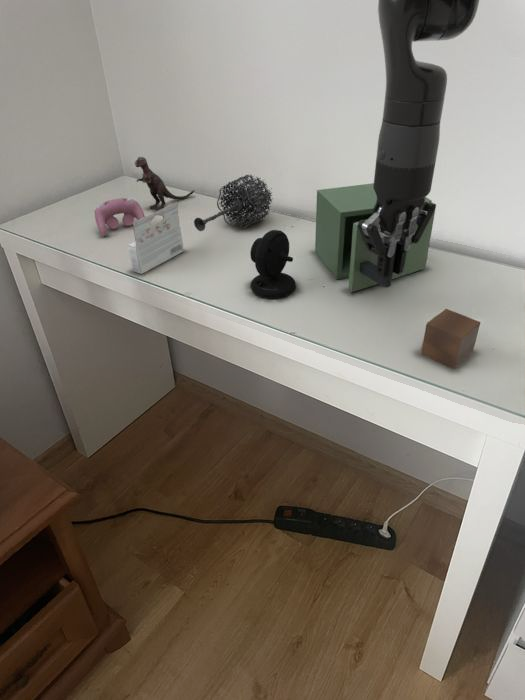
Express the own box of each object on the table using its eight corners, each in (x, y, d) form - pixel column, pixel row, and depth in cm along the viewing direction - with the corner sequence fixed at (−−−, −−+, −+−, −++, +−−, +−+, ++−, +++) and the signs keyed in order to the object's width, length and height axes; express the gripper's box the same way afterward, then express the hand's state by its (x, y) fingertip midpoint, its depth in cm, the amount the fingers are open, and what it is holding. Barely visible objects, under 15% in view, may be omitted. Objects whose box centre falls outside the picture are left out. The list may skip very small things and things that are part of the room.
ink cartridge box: (132, 271, 94) (122, 219, 88) (175, 249, 101) (168, 199, 95) (142, 275, 93) (132, 222, 87) (184, 252, 100) (178, 201, 94)
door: (452, 283, 87) (466, 216, 80) (376, 310, 81) (384, 240, 74) (421, 266, 92) (432, 202, 85) (348, 290, 86) (353, 223, 79)
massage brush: (183, 242, 104) (177, 195, 98) (251, 207, 118) (249, 164, 112) (220, 253, 99) (216, 205, 93) (286, 215, 113) (286, 171, 108)
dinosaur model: (130, 156, 110) (184, 145, 120) (135, 211, 117) (186, 196, 126) (142, 161, 108) (196, 149, 118) (147, 216, 115) (197, 200, 124)
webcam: (268, 273, 92) (266, 218, 86) (304, 284, 88) (305, 228, 82) (241, 292, 87) (237, 235, 81) (278, 304, 83) (278, 246, 77)
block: (473, 352, 72) (480, 321, 69) (454, 369, 69) (461, 337, 66) (439, 338, 74) (446, 308, 72) (420, 354, 72) (426, 323, 69)
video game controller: (145, 229, 113) (136, 196, 112) (149, 226, 109) (140, 192, 108) (99, 238, 110) (89, 204, 108) (101, 236, 106) (91, 201, 104)
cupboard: (421, 266, 92) (432, 200, 85) (336, 279, 89) (340, 212, 82) (393, 241, 101) (400, 179, 94) (314, 252, 98) (316, 189, 91)
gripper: (389, 175, 63) (374, 299, 73) (464, 152, 69) (440, 270, 79) (346, 159, 68) (338, 278, 78) (420, 139, 74) (403, 251, 84)
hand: (389, 273), depth 79 cm, fingers closed on door, 2 cm apart
